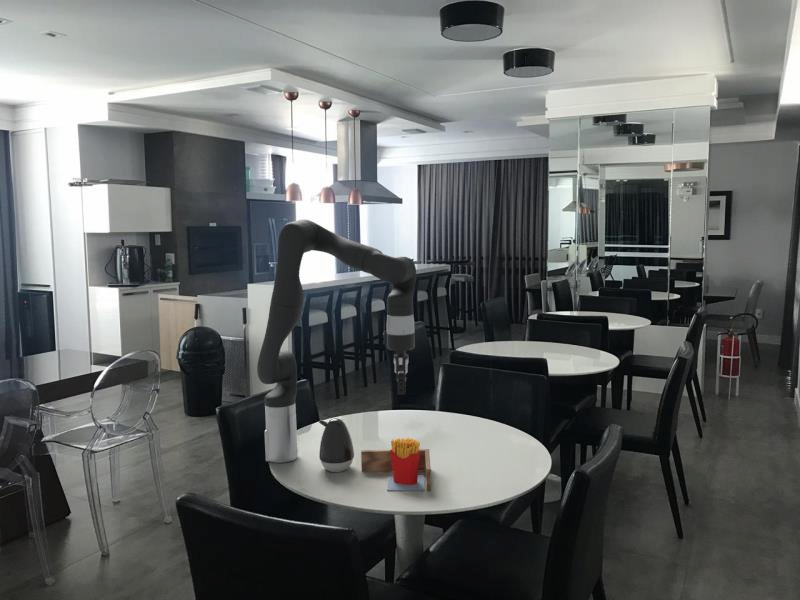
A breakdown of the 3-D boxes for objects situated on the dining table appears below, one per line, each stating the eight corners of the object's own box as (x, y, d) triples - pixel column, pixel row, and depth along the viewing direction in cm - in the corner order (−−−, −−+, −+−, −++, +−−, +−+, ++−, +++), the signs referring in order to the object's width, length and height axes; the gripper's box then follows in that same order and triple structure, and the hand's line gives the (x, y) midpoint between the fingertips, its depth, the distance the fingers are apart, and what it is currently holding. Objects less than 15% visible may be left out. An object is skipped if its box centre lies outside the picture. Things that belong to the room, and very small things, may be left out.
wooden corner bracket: (357, 492, 176) (356, 470, 176) (362, 470, 192) (361, 450, 192) (431, 491, 176) (430, 469, 175) (429, 468, 192) (429, 448, 191)
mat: (387, 491, 177) (387, 489, 177) (388, 476, 187) (388, 475, 187) (424, 490, 177) (424, 489, 176) (424, 476, 186) (424, 475, 186)
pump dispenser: (329, 461, 201) (327, 412, 199) (360, 464, 197) (358, 415, 195) (312, 473, 191) (310, 422, 189) (345, 477, 187) (343, 425, 186)
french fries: (389, 482, 182) (388, 440, 180) (394, 477, 185) (393, 435, 184) (418, 486, 179) (417, 443, 177) (423, 481, 182) (422, 438, 181)
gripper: (414, 335, 170) (415, 396, 172) (414, 326, 184) (415, 383, 186) (385, 336, 170) (386, 397, 172) (387, 327, 185) (388, 384, 187)
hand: (401, 390), depth 179 cm, fingers open, 8 cm apart
